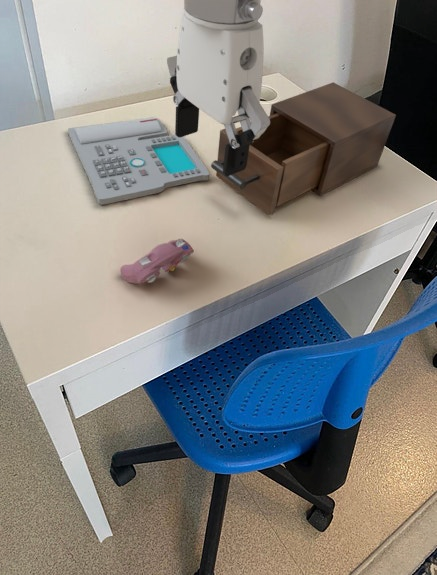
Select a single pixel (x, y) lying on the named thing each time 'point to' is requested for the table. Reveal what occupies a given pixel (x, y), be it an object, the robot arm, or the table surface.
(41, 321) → the table surface
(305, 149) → the drawer
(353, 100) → the cabinet
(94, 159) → the office telephone
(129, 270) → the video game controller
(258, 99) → the robot arm
